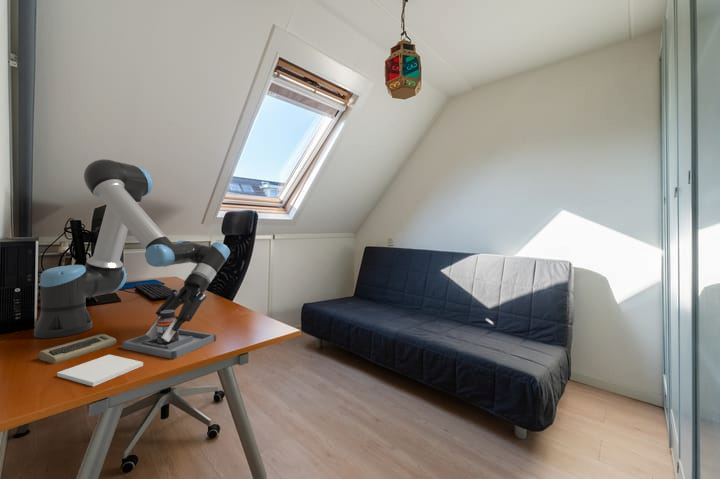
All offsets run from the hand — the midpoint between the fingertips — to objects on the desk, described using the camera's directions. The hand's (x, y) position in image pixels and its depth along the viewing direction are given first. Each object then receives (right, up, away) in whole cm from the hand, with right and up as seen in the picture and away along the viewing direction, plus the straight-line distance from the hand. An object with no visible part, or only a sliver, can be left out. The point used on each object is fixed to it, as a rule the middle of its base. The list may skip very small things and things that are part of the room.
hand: (157, 338), depth 95 cm
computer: (-22, -4, -2) cm, 23 cm away
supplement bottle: (+1, -4, +4) cm, 5 cm away
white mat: (-5, -4, -14) cm, 16 cm away
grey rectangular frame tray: (+1, -3, +5) cm, 6 cm away
